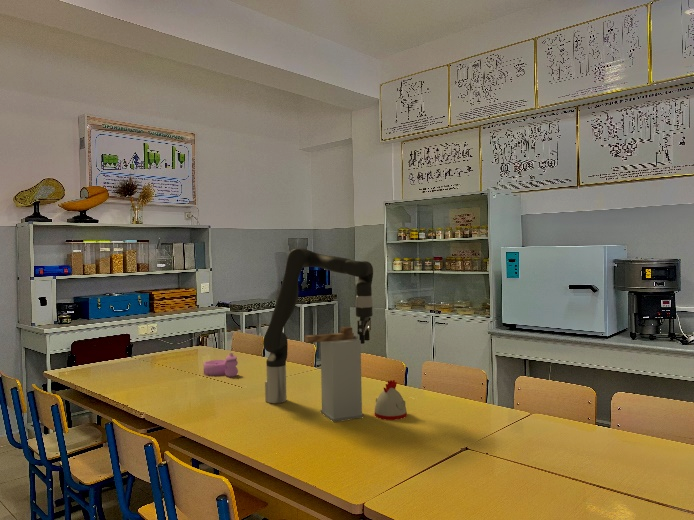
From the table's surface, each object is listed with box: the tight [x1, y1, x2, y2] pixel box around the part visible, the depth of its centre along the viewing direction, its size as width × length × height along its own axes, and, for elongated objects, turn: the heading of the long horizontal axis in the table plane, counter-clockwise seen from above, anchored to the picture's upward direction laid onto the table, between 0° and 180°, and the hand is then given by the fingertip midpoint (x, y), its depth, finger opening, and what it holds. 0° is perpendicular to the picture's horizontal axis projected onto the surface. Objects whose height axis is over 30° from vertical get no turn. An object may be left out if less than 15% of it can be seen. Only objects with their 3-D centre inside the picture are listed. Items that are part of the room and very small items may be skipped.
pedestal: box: [319, 334, 365, 423], centre depth 234 cm, size 14×15×34 cm
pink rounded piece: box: [203, 352, 239, 378], centre depth 319 cm, size 25×15×13 cm, turn 51°
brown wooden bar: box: [304, 326, 355, 344], centre depth 232 cm, size 21×4×5 cm, turn 113°
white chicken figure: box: [374, 379, 408, 421], centre depth 233 cm, size 14×14×15 cm
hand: (364, 341), depth 242 cm, fingers open, 8 cm apart
